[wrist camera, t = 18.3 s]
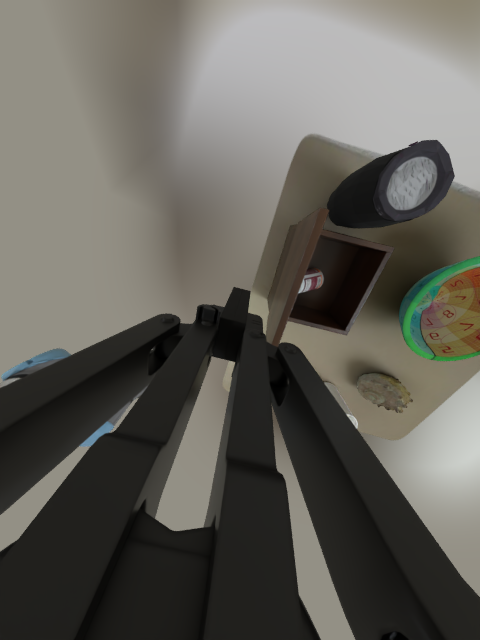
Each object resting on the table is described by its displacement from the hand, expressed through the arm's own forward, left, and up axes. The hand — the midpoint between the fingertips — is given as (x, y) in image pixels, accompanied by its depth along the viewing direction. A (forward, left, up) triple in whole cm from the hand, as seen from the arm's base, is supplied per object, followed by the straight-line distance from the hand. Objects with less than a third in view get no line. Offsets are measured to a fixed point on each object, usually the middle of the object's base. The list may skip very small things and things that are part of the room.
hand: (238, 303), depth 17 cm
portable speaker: (+17, +15, -32) cm, 39 cm away
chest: (+15, 0, -32) cm, 35 cm away
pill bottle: (+16, 0, -29) cm, 33 cm away
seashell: (+46, -26, -32) cm, 61 cm away
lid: (+6, 0, -12) cm, 13 cm away
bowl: (+44, +1, -32) cm, 54 cm away
